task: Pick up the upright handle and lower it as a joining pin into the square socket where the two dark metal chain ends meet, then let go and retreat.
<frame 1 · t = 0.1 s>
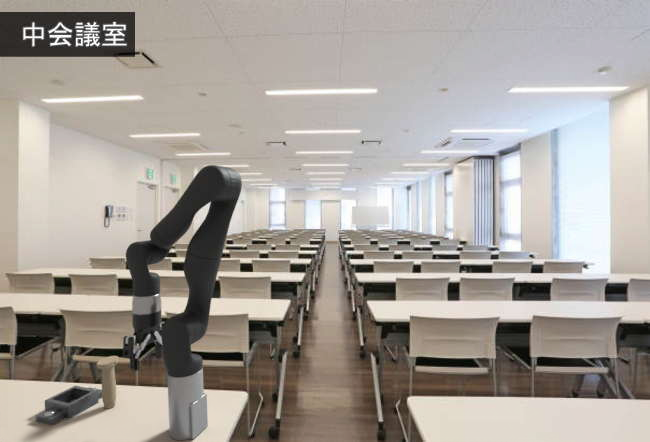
hand: (147, 363, 101), 17 cm above the table, tool pointing down, fingers open, 8 cm apart
chain end 1: (72, 407, 109), on the table
handle: (109, 407, 109), on the table
chain end 2: (72, 407, 109), on the table
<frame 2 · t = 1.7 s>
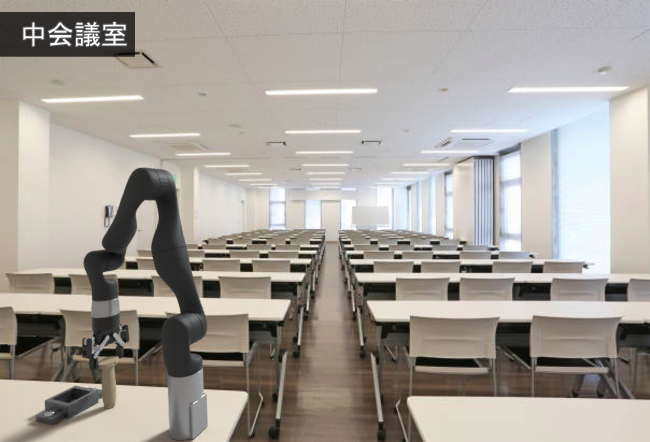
hand: (107, 363, 109), 14 cm above the table, tool pointing down, fingers open, 8 cm apart
nothing on the table moved.
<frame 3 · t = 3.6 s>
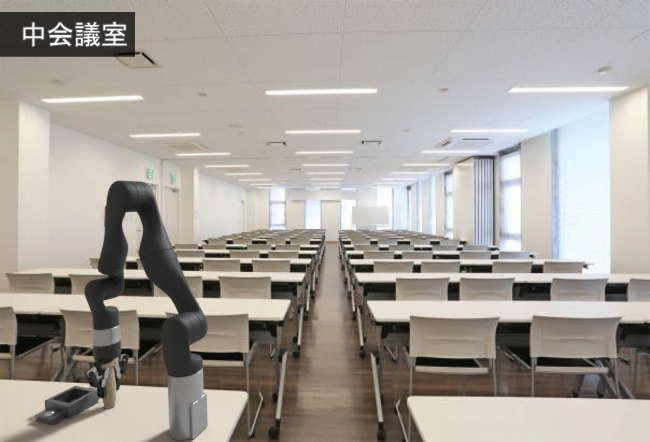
hand: (109, 393, 109), 4 cm above the table, tool pointing down, fingers closed on handle, 4 cm apart
handle: (109, 407, 109), on the table, touching gripper
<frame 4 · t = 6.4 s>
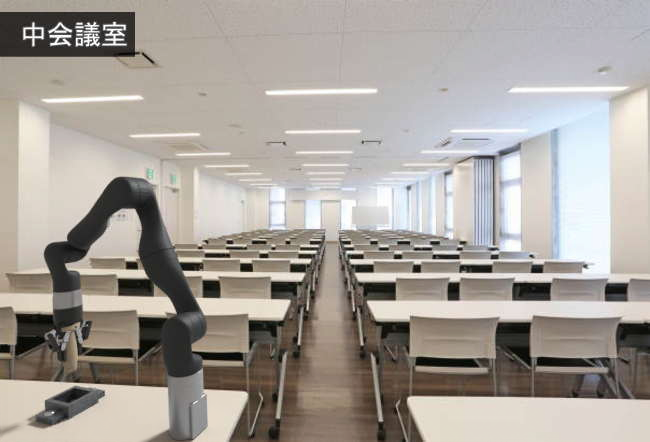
hand: (70, 357, 109), 16 cm above the table, tool pointing down, fingers closed on handle, 4 cm apart
handle: (70, 371, 109), point 12 cm above the table, touching gripper
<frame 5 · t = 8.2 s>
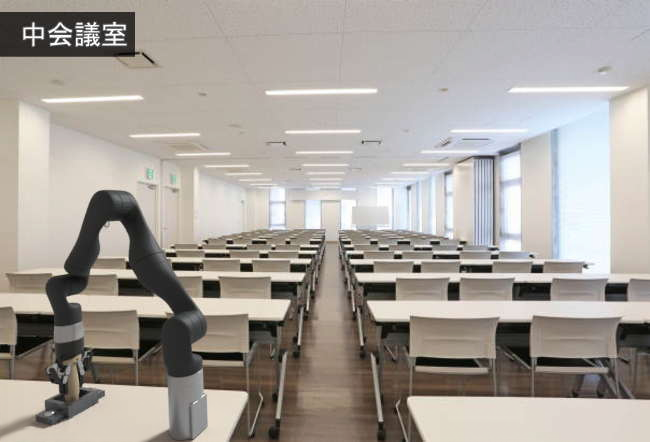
hand: (72, 390, 109), 6 cm above the table, tool pointing down, fingers closed on handle, 4 cm apart
handle: (72, 403, 109), point 1 cm above the table, touching gripper
when the fingers open (6 cm above the table, at t = 9.1 s): handle drops 1 cm, on the table.
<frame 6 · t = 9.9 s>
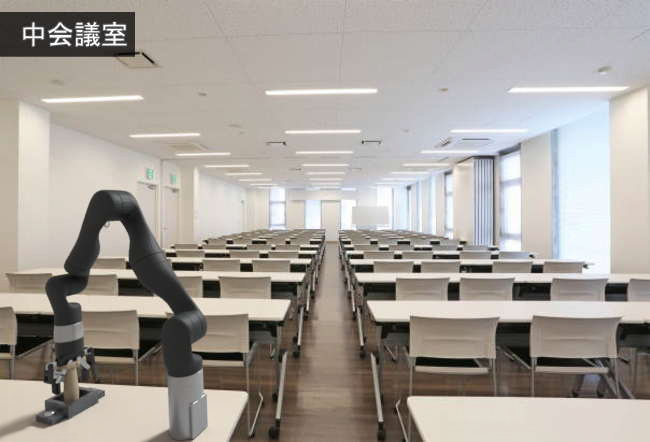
hand: (71, 387, 109), 7 cm above the table, tool pointing down, fingers open, 8 cm apart
handle: (72, 408, 109), on the table
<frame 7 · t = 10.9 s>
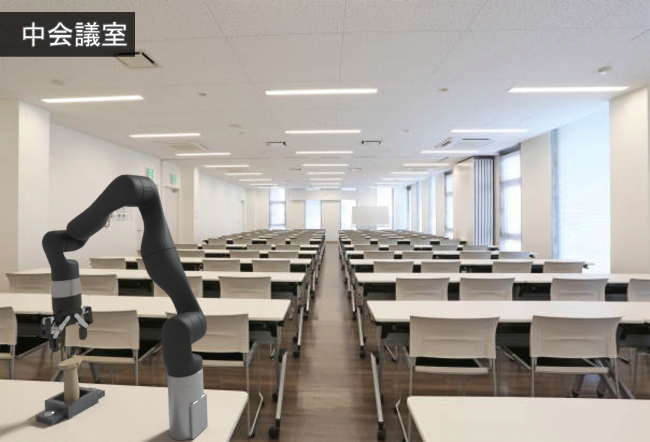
hand: (69, 344, 108), 20 cm above the table, tool pointing down, fingers open, 8 cm apart
nothing on the table moved.
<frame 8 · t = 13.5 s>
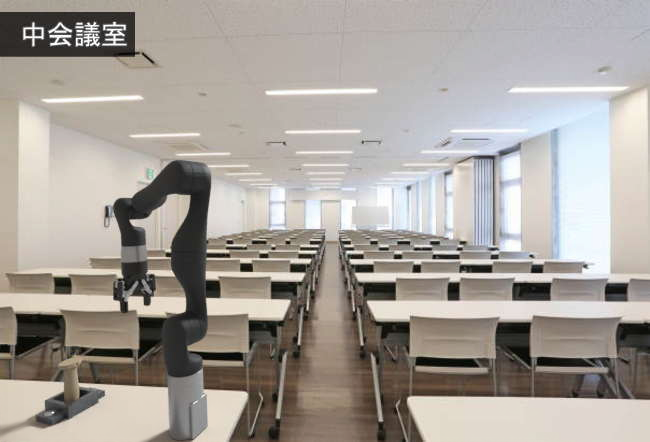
hand: (136, 309, 112), 30 cm above the table, tool pointing down, fingers open, 8 cm apart
nothing on the table moved.
at the end: handle 0.1 cm off-centre on the chain end 2, point 0.0 cm above the chain end 2's base; handle tilted 0°; the gripper is holding nothing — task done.
